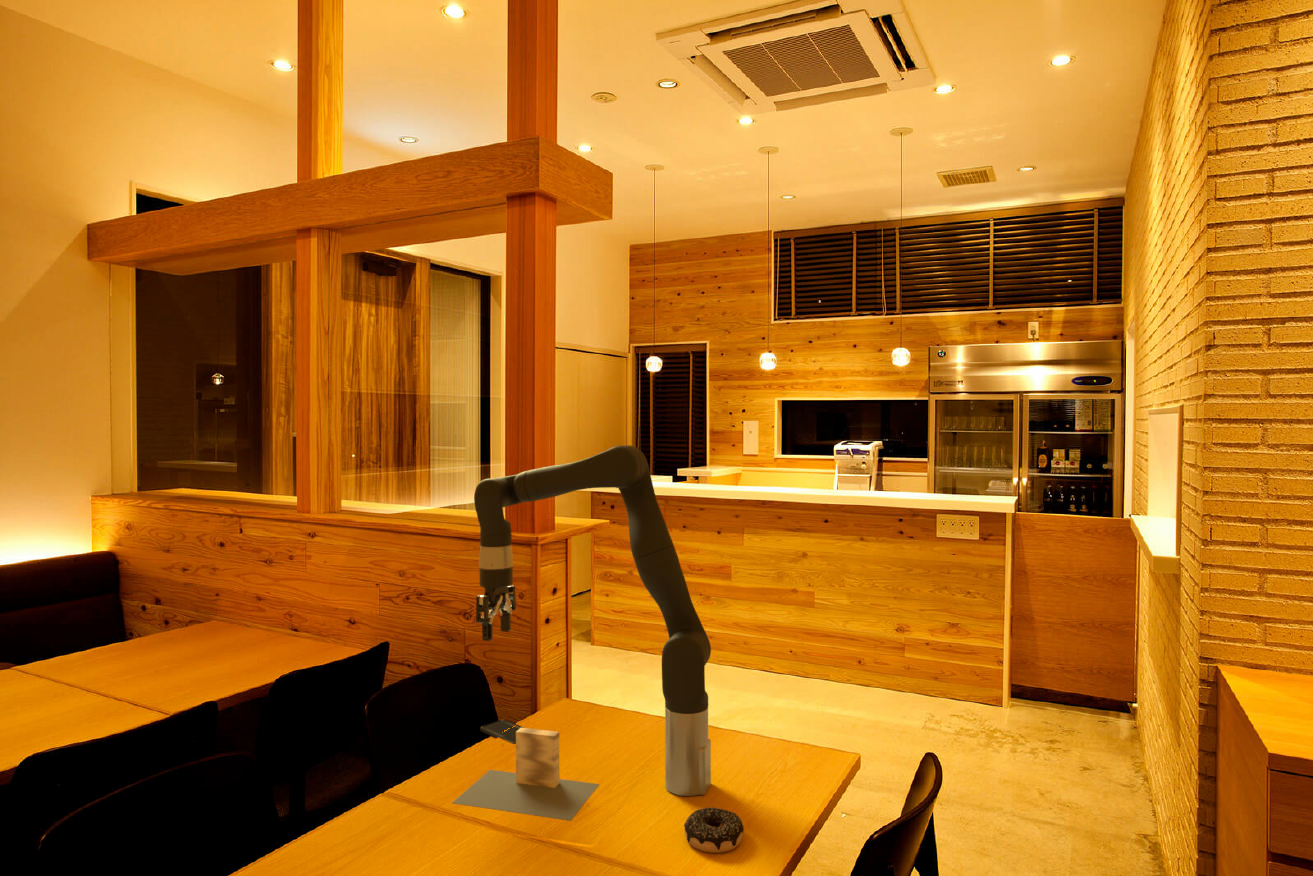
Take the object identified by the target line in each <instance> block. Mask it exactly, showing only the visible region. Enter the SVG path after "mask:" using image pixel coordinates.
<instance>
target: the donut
mask: <svg viewBox="0 0 1313 876" xmlns="http://www.w3.org/2000/svg"><path fill="white" fill-rule="evenodd" d="M683 827H684V834H685V835H684V836H685V838H686V840H687V842H688V844H689V845H690V846H692V847H693V848H694V849H697V850H698V851H699V850H700V851H701V852H704V853H709V854H710V853H711V854H714V853H715V854H719V853H727V852H730V851H731V850H734V849H736V848H737V847H738V846H739V844H741V842H742V840H743V836H744V834H743V833H744V832H745V831H744V824H743V822H742V819H741V818H740V816H739V815H738V814H737V813H736V812H733V811H730V810H728V809H724V808H719V807H718V808H717V807H712V806H711V807H703V808H700V809H699V808H698V809H697V810H695V811H693V812H691V814H689V816H688V817H687V819H686V821H685V822H684V824H683Z"/></svg>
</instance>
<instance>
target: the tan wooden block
mask: <svg viewBox="0 0 1313 876" xmlns="http://www.w3.org/2000/svg"><path fill="white" fill-rule="evenodd" d="M515 773H516V783H521V784H529V785H536V786H543V787H551V788H555V787H556V786H557V785H558V784H559V779H560V731H554V730H547V729H546V730H545V729H544V730H543V729H538V728H528V727H524V728H520V729H519V730H517V731H516V744H515Z"/></svg>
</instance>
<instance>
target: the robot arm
mask: <svg viewBox="0 0 1313 876" xmlns="http://www.w3.org/2000/svg"><path fill="white" fill-rule="evenodd" d="M651 476H652V475H651V472H650V466H649V463H648V459H647V458H646V456H645V454H644V453H643V451H641V449H639V447H636V446H634V445H629V444H627V445H615V446H612V447H610V448H608V449H607V450H604V451H601V452H600V453H597V454H594V455H591V456H590V457H589V456H588V457H587V458H583V459H581V460H580V459H579V460H577V461H573V462H568V463H562V464H561V463H560V464H556V465H549V466H543V467H538V468H535V469H530V470H529V469H528V470H525V471H522V472H519V473H518V474H514V475H506V476H499V477H492V478H485V479H482V480H480V481H479V483H478V484H477V485H476V487H475V491H474V497H473V499H474V501H473V502H474V508H475V512H476V516H477V521H478V523H479V529H480V533H479V534H480V535H479V537H480V539H479V544H480V547H479V548H480V549H479V559H478V560H479V561H478V562H479V563H478V567H479V571H478V572H479V573H478V574H479V586H480V587H481V588H484V594H483V595H476V603H475V608H476V609H475V622H476V623H480V624H481V626H482V627H481V628H482V631H481V633H482V634H481V635H482V636H481V638H482V641H483V642H486V641H487V642H490V641H492V640H493V636H494V635H493V634H494V633H493V630H494V629H493V622H494V619H495V616H496V615H498V611H499V612H500V631H501V632H506V633H507V632H510V631H511V629H512V627H511V625H512V624H511V623H512V622H511V615H512V614H513V611H516V609H517V602H516V586H515V585H513V584H514V568H513V567H514V565H513V564H514V559H513V558H514V556H513V548H512V524H511V522H510V521H509V520H508V519H505V515H504V508H507V507H511V506H515V505H519V504H521V503H530V502H536V501H540V500H541V501H543V500H547V499H550V498H551V499H552V498H554V497H558V496H562V495H566V494H568V493H572V492H576V491H579V490H580V491H581V490H587V489H597V488H598V489H599V488H601V489H602V488H603V489H607V488H609V489H611V488H614V489H618V491H619V493H620V495H621V498H622V500H623V502H624V506H625V508H626V509H625V510H626V514H627V518H628V536H629V544H630V545H629V546H630V551H631V554H632V558H633V561H634V564H635V567H636V569H637V572H638V576H639V578H640V580H641V582H642V584H643V585H644V587H645V589H646V590H647V592H648V593H649V594H650V596H651V598H652V599H653V601H654V602H655V604H657V606H658V609H659V610H660V612H661V615H662V617H663V621H664V623H665V627H666V629H667V630H666V631H667V633H668V638H669V639H668V640H667V641H666V642H665V644H664V646H663V648H662V653H661V685H662V689H661V690H662V694H663V698H664V701H665V702H664V707H665V708H664V719H665V720H664V721H665V722H664V732H665V733H664V734H665V735H664V736H665V737H664V739H665V741H664V742H665V743H664V744H665V745H664V746H665V747H664V750H665V751H664V752H665V753H664V754H665V755H664V758H665V759H664V760H665V761H664V763H665V764H664V767H665V768H664V769H665V771H664V772H665V775H664V780H665V781H664V782H665V783H664V784H665V789H666V791H668V792H670V793H672V794H674V795H676V796H682V797H693V796H698V795H700V796H701V795H702V796H705V795H706V793H707V791H708V789H709V788H710V785H711V783H712V777H711V775H712V767H711V766H712V764H711V763H712V762H711V761H712V757H711V756H712V755H711V754H712V753H711V751H712V747H711V745H712V744H711V743H712V741H711V738H709V695H708V693H707V691H706V681H705V680H706V677H705V666H706V664H708V662H709V660H710V658H711V652H712V647H711V643H710V642H711V641H710V639H709V637H708V634H707V632H706V630H705V628H704V626H703V624H702V622H701V619H700V617H699V614H698V613H697V611H696V609H695V606H694V603H693V601H692V598H691V595H690V591H689V587H688V586H687V585H688V584H687V581H686V578H685V575H684V573H683V569H682V566H681V563H680V559H679V557H678V553H677V550H676V547H675V545H674V542H673V539H672V536H671V535H670V531H669V529H668V526H667V524H666V520H665V518H664V516H663V513H662V510H661V508H660V506H659V503H658V500H657V497H656V493H655V488H654V485H653V480H652V477H651ZM481 613H482V614H481Z"/></svg>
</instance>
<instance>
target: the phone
mask: <svg viewBox="0 0 1313 876" xmlns="http://www.w3.org/2000/svg"><path fill="white" fill-rule="evenodd" d="M515 725H516V723H514V722H512V721H510V720H507V719H501V720H497V721H493V722H491V723H488V724H485V725H482V726H480V732H482V733H484V734H486V735H488V736H491V737H493V738H495V739H498V738H499V739H501V740H504V741H506V742H508V743H511V744H513V745H516V731H517V730H519V729H520V728H525V727H524V726H521V725H519V724H517V725H516V726H515ZM513 726H515V727H513ZM512 727H513V728H512ZM508 728H510V729H508ZM507 729H508V730H507ZM504 730H507V731H505V732H504ZM502 732H503V733H502Z"/></svg>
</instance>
